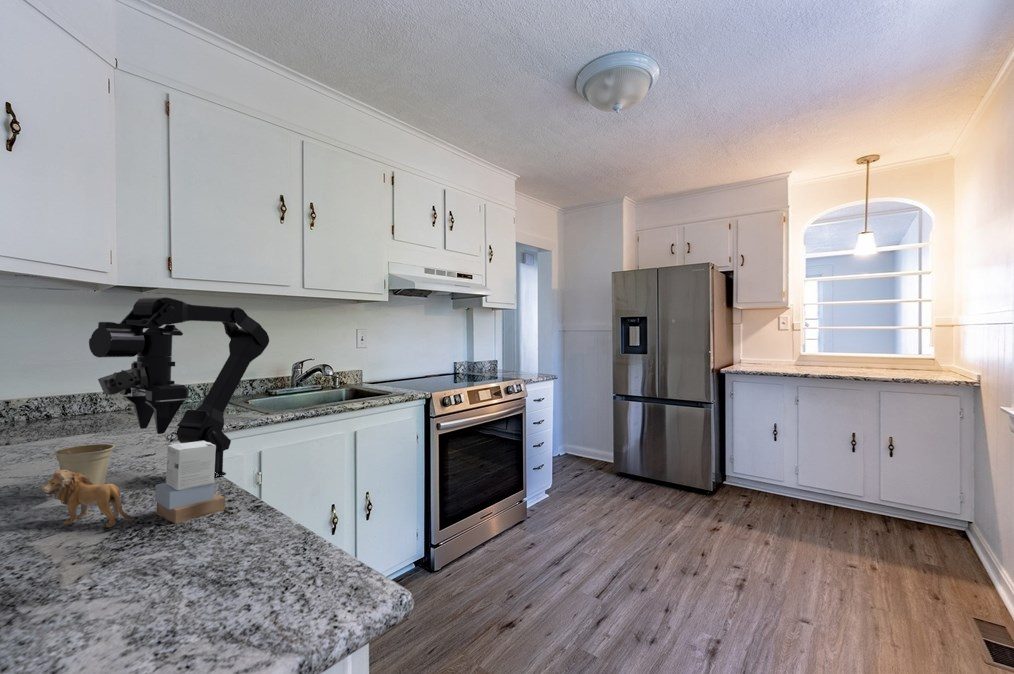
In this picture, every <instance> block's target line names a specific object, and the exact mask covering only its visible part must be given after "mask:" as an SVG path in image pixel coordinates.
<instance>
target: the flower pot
mask: <svg viewBox="0 0 1014 674" xmlns="http://www.w3.org/2000/svg"><path fill="white" fill-rule="evenodd" d="M115 447H116V446H115V444H111V443H93V444H90V443H89V444H83V445H75V446H70V447H69V446H68V447H65V448H61V449H57V450H55V451H53V455H55V456H56V461H57V462H58V465H59V471H60V470H72V471H75V472H78V473H81V474H82V475H85V476H86V477H87V478H89V480H90V482H91V483H93V484H96V485H104V484H105V481H106V476H107V470H108V466H109V460H110V456H111V455H112V453H113V449H115Z"/></svg>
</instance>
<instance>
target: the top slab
mask: <svg viewBox="0 0 1014 674" xmlns="http://www.w3.org/2000/svg"><path fill="white" fill-rule="evenodd" d="M215 485H216V484H215V482H214V483H213V484H208V485H203V486H198V487H194V488H189V489H184V490H175V489H174V488H172V487H171V486H169V485H167V484H166V482H164V483H163V482H162V483H158V484H155V490H154V491H155V494H154V495H155V497H154V498H155V499H154V502H156V504H157V503H159V504H161V505H162V506H164V507H166V508H167V509H169V510H171V509H175V508H179V507H183V506H187V505H191V504H195V503H199V502H204V501H208V500H212V499H214V493H215Z"/></svg>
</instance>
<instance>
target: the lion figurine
mask: <svg viewBox="0 0 1014 674" xmlns="http://www.w3.org/2000/svg"><path fill="white" fill-rule="evenodd" d="M41 490H42V491H43V492H45V496H46V497H50V496H52V497H53V498H54V499H56V500H59V501H60V503H61V504H62V505H67V511H68V514H69V517H70V519H67V520H65V522H64V524H65V525H71V524H74V523H76V522H77V520H78V519H84V518H85V519H86V518H87V517H88V515H89V507H93V506H97V507H98V509H99V511H100V512H101V513H102V514H103V515H104V516H105V517H107V519H108V522H107V523H106V524H105V528H111V527H113V526H115V525H116V520H117V519H119V514H120V516H121V517H123V518H124V520H127V521H134V520H135V517H134V516H131V515H127V514H126V513H125V512H124V511H123V507H122V505H121V501H120V496H121V491H120V489H119V487H118V486H117V485H116V484H114V483H104V485H96V484H93V483H91V482H90V480H89V478H87V477H86V476H85V475H82V474H81V473H78V472H75V471H72V470H60V469H59V470H57V471H55V472H53V473H52V477H51V479H49V481H48V483H46V484H44V486H42V487H41ZM79 505H80V512H79V515H77V514H78V513H77V509H78V507H79ZM110 506H111V507H110ZM111 508H112V509H111Z"/></svg>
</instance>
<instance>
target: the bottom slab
mask: <svg viewBox="0 0 1014 674" xmlns="http://www.w3.org/2000/svg"><path fill="white" fill-rule="evenodd" d="M225 504H226V497H225V496H223V495H220V494H218V493H215V492H214V499H212V500H208V501H204V502H199V503H195V504H191V505H187V506H183V507H179V508H175V509H171V510H169V509H167V508H166V507H164V506H162V505H161V504H159V503H157V502H156V514H157V515H158V516H160V517H162V518H164V519H166V520H168V521H169V522H171V523H174V524H176V525H177V524H180V523H183V522H187V521H190V520H193V519H198V518H202V517H205V516H208V515H211V514H212V515H213V514H215V513H219V512H222V511H225V510H226V505H225Z"/></svg>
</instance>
